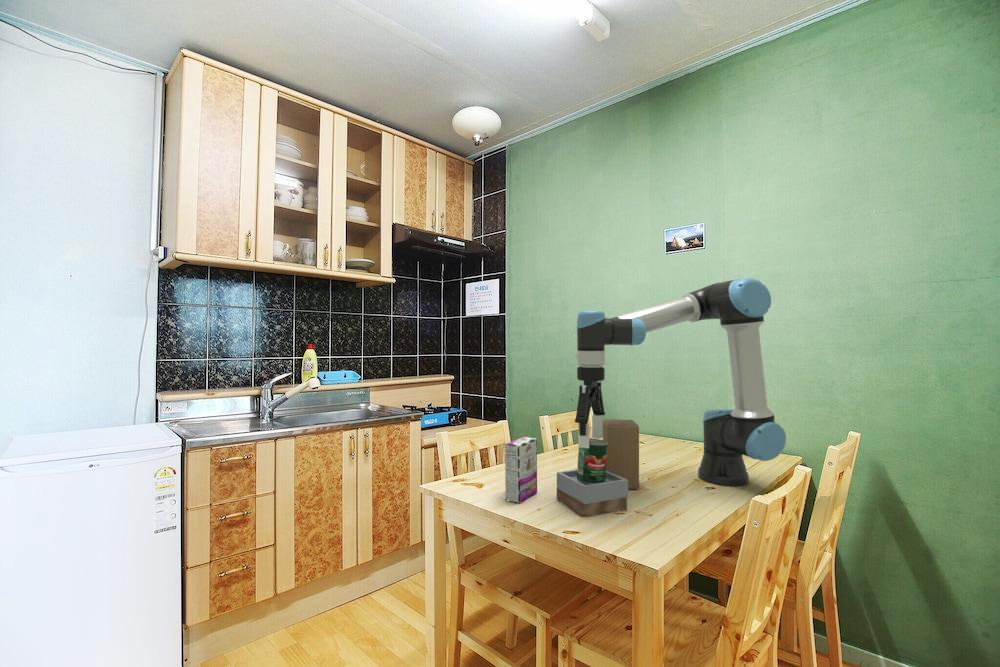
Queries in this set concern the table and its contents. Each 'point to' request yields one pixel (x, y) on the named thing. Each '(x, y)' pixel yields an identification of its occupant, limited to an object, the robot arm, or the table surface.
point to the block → (622, 449)
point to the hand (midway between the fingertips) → (590, 442)
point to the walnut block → (592, 505)
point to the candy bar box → (521, 469)
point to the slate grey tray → (592, 487)
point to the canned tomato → (592, 462)
